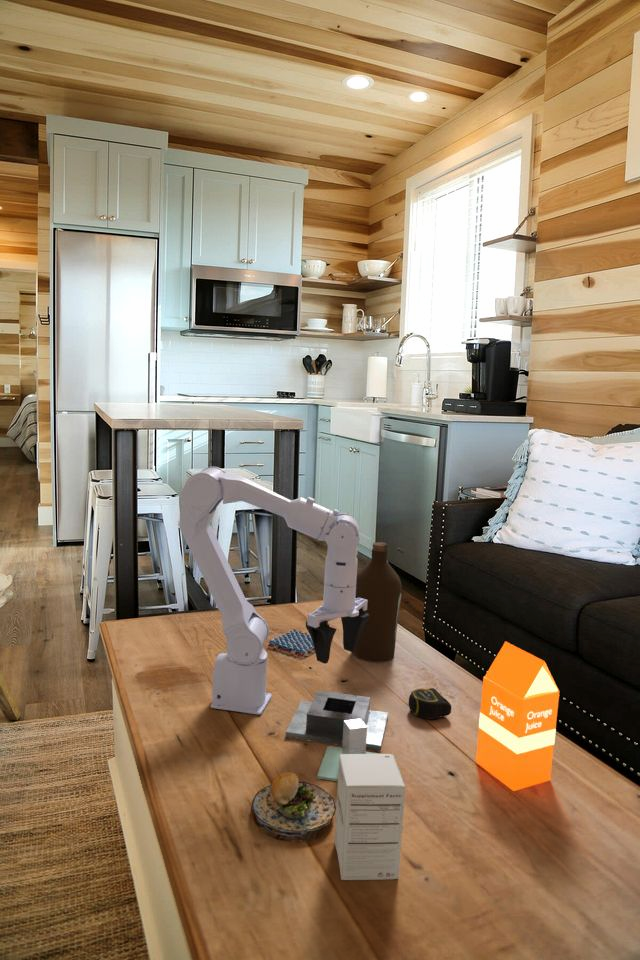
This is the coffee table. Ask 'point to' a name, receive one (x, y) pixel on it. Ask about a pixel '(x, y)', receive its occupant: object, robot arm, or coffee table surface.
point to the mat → (331, 764)
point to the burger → (291, 809)
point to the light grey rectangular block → (354, 737)
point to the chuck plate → (330, 739)
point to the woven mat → (293, 644)
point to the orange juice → (517, 719)
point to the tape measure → (428, 704)
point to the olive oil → (378, 607)
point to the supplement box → (369, 816)
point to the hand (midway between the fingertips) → (336, 655)
